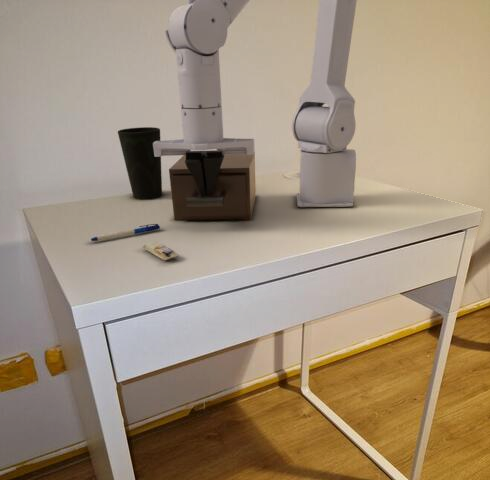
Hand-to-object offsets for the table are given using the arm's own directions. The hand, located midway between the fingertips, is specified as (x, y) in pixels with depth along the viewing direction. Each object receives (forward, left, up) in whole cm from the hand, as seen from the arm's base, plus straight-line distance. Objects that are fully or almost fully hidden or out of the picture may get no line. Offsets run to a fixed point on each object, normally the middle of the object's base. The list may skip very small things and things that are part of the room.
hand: (208, 204), depth 72 cm
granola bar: (+5, +12, -4) cm, 14 cm away
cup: (+15, -20, -4) cm, 25 cm away
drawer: (0, -6, -3) cm, 7 cm away
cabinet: (0, -10, -3) cm, 11 cm away
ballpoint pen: (+12, +5, -4) cm, 13 cm away
